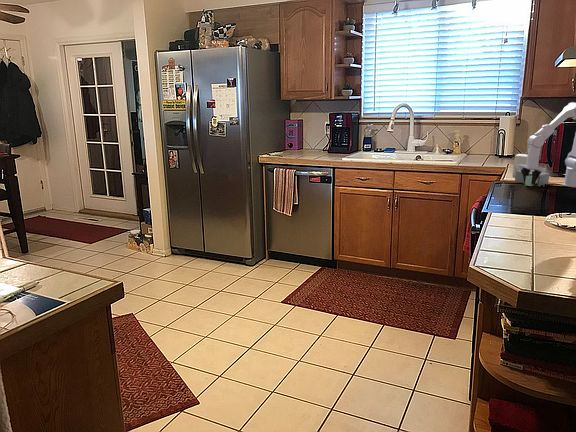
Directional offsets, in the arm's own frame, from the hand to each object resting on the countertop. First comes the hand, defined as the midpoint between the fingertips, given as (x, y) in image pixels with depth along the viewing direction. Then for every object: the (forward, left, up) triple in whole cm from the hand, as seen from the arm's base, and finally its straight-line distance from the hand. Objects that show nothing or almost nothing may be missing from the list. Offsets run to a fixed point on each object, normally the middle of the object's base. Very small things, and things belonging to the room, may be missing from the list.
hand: (529, 183), depth 257 cm
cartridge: (-5, 0, -1) cm, 5 cm away
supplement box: (-19, -17, -2) cm, 26 cm away
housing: (-8, -4, -2) cm, 10 cm away
